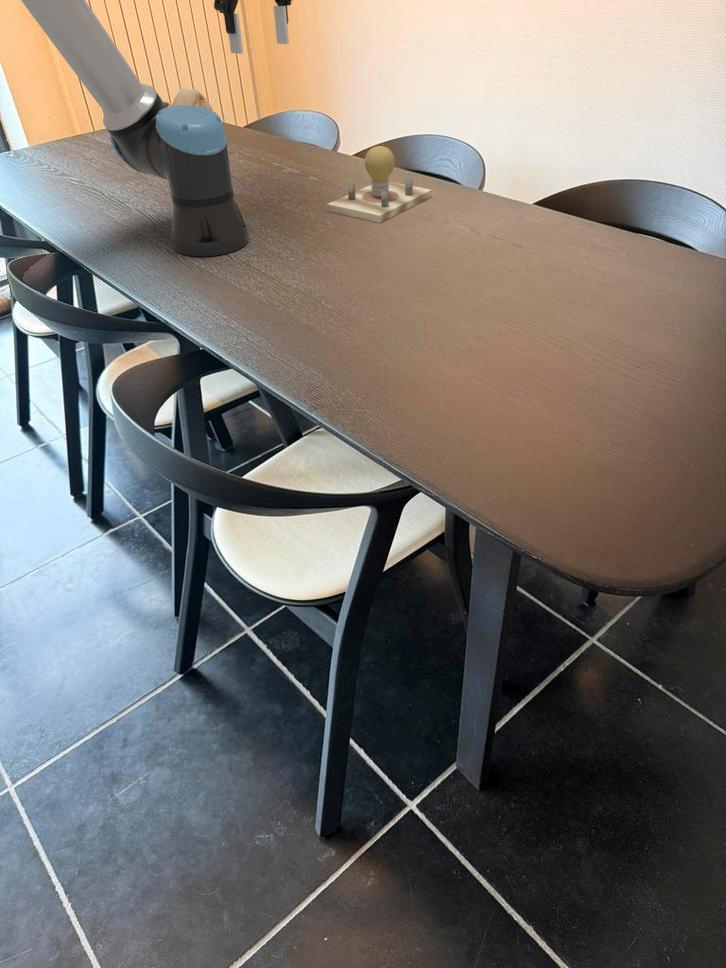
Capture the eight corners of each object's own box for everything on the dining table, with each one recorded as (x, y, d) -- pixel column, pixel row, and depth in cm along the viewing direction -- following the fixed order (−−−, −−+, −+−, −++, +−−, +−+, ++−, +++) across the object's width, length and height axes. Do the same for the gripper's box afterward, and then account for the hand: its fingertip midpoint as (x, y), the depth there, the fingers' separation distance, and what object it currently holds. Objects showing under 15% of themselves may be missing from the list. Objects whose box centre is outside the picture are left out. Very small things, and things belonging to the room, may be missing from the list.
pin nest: (379, 223, 139) (379, 200, 137) (327, 211, 146) (326, 189, 143) (431, 196, 151) (432, 175, 148) (381, 186, 158) (381, 166, 155)
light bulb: (395, 191, 150) (395, 142, 143) (394, 200, 145) (393, 150, 138) (367, 191, 150) (365, 142, 144) (364, 200, 145) (362, 151, 139)
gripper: (210, -87, 115) (229, 58, 129) (305, -90, 130) (313, 41, 144) (180, -85, 118) (203, 55, 132) (276, -88, 133) (287, 39, 147)
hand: (260, 48), depth 138 cm, fingers open, 13 cm apart
